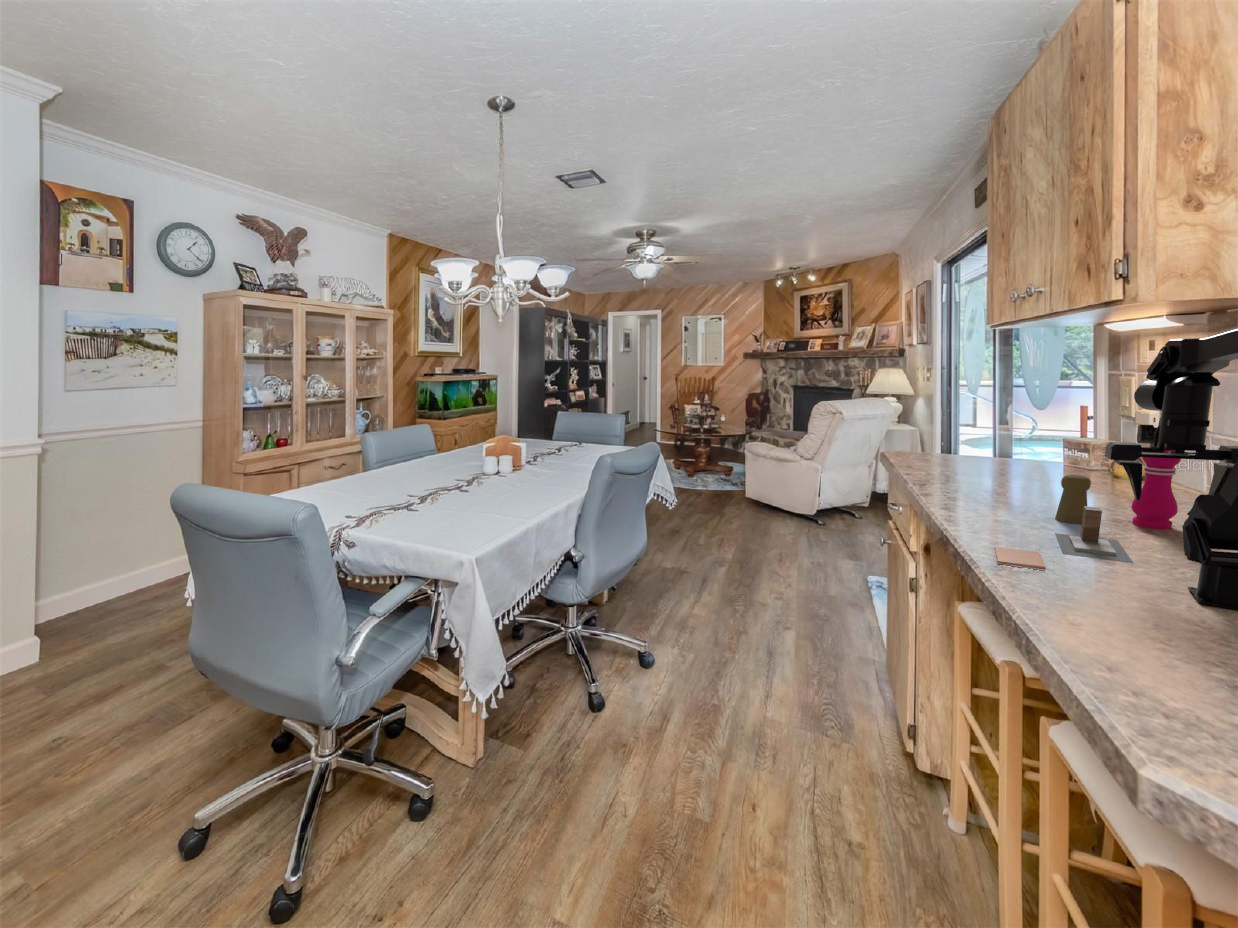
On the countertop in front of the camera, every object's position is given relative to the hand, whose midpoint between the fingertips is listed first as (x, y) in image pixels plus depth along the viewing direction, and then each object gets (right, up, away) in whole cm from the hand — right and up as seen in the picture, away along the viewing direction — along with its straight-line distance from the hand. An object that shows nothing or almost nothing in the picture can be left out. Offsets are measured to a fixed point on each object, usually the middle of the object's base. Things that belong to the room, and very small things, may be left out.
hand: (1172, 502), depth 96 cm
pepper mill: (+20, -7, +24) cm, 32 cm away
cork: (+6, -7, +30) cm, 31 cm away
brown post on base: (-4, -9, +12) cm, 16 cm away
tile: (-20, -10, +11) cm, 25 cm away
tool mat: (-4, -10, +12) cm, 16 cm away
